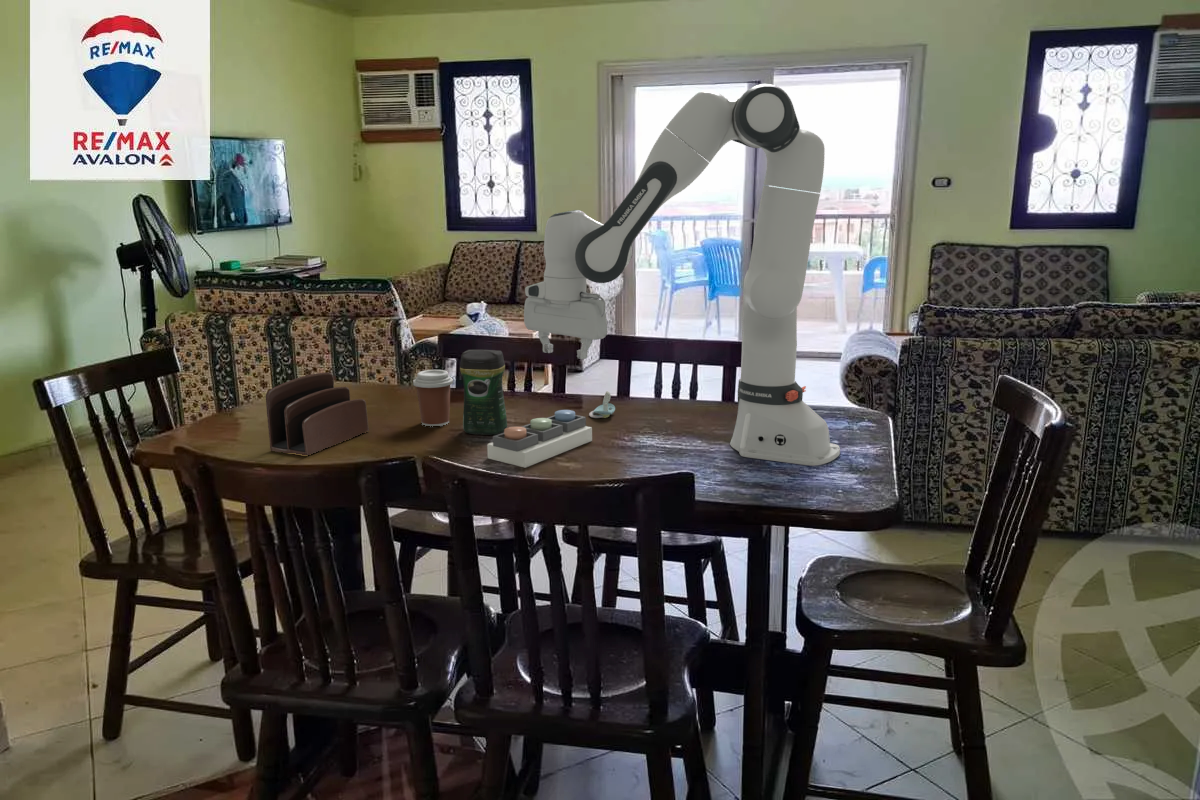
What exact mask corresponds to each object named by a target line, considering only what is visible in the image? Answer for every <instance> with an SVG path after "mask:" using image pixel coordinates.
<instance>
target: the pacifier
mask: <svg viewBox="0 0 1200 800" xmlns="http://www.w3.org/2000/svg"><path fill="white" fill-rule="evenodd" d="M611 396H612V395H611V392H610V391H608V390H606V391H605V393H604V397H603V400H602V404H600V405H598V406H597V407H596V408H595V409H594V410H592V411H590V412H589V413H588V416H589V417H590V418H593V419H600V418H602V419H607V418H608V417H610V415H613V414H614V412H615V411H616V406H615V405H614V404H612V403H609V402H610V401H611Z"/></svg>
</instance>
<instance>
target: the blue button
mask: <svg viewBox="0 0 1200 800" xmlns="http://www.w3.org/2000/svg"><path fill="white" fill-rule="evenodd" d="M554 415H555V420H557V421H562V422H570V421H573V420H575V415H576V412H575V411H574V410H572V409H571V410H570V409H559V410H556V411H554Z"/></svg>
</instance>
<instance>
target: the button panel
mask: <svg viewBox="0 0 1200 800" xmlns="http://www.w3.org/2000/svg"><path fill="white" fill-rule="evenodd" d="M547 418H548V419H551V420H552V428H550V429H548V430H545V431H539V430H535V429H531V424H530V423H527V424H524V425H522V426H521V427H524V428H526V435H527V437H525V438H523V439H520V440H512V439H507V438H505V437H504V432H502V433H498V434H494V435H493V436H492V442H489V443H487V459H489V460H493V461H498V462H501V463H505V464H509V465H513V466H516V467H521V468H528V467H531V466H533V465H535V464H538V463H540V462H543V461H546V460H548V459H550V458H553V457H556V456H558V455H560V454H562V453H565V452H568V451H570V450H572V449H576V448H577V447H581V446H582V445H585V444H588V443H591V442H593V427H592V426H587V418H586V416H583V415H578V414H575V420H573V421H570V422H562V421H557V420H555V414H554V415H552V416H548V417H547Z"/></svg>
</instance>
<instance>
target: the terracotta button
mask: <svg viewBox="0 0 1200 800" xmlns="http://www.w3.org/2000/svg"><path fill="white" fill-rule="evenodd" d="M503 433H504V437H505V438H507V439H512V440H520V439H523V438H525V437H527V435H526V428H524V427H522V426H509V427H508V426H507V428H506V429H504V432H503Z"/></svg>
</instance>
